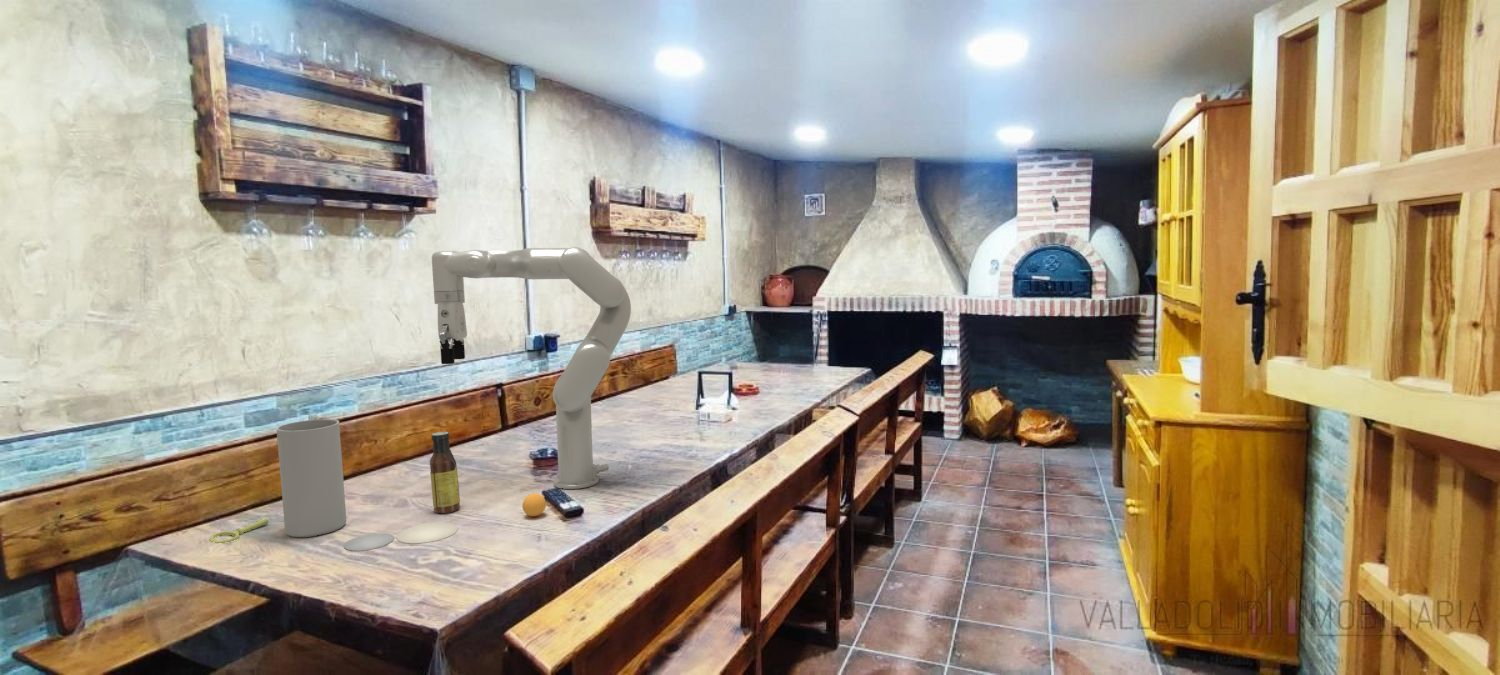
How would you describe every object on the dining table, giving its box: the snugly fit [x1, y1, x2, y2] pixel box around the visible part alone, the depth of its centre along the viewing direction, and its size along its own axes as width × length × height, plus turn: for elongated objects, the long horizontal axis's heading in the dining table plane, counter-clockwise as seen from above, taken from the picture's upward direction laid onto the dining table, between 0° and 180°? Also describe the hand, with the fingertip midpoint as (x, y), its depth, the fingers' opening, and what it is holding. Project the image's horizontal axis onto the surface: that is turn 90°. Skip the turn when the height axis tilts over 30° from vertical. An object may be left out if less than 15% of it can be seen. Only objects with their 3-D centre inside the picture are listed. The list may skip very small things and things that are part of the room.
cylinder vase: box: [276, 418, 347, 538], centre depth 171 cm, size 12×12×25 cm
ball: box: [522, 493, 547, 517], centre depth 178 cm, size 6×6×6 cm
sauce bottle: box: [429, 431, 461, 514], centre depth 183 cm, size 6×6×20 cm
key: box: [209, 518, 270, 544], centre depth 170 cm, size 7×12×2 cm, turn 173°
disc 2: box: [396, 521, 459, 545], centre depth 168 cm, size 13×13×1 cm
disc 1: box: [343, 532, 395, 552], centre depth 163 cm, size 10×10×1 cm
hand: (453, 361), depth 196 cm, fingers open, 9 cm apart
